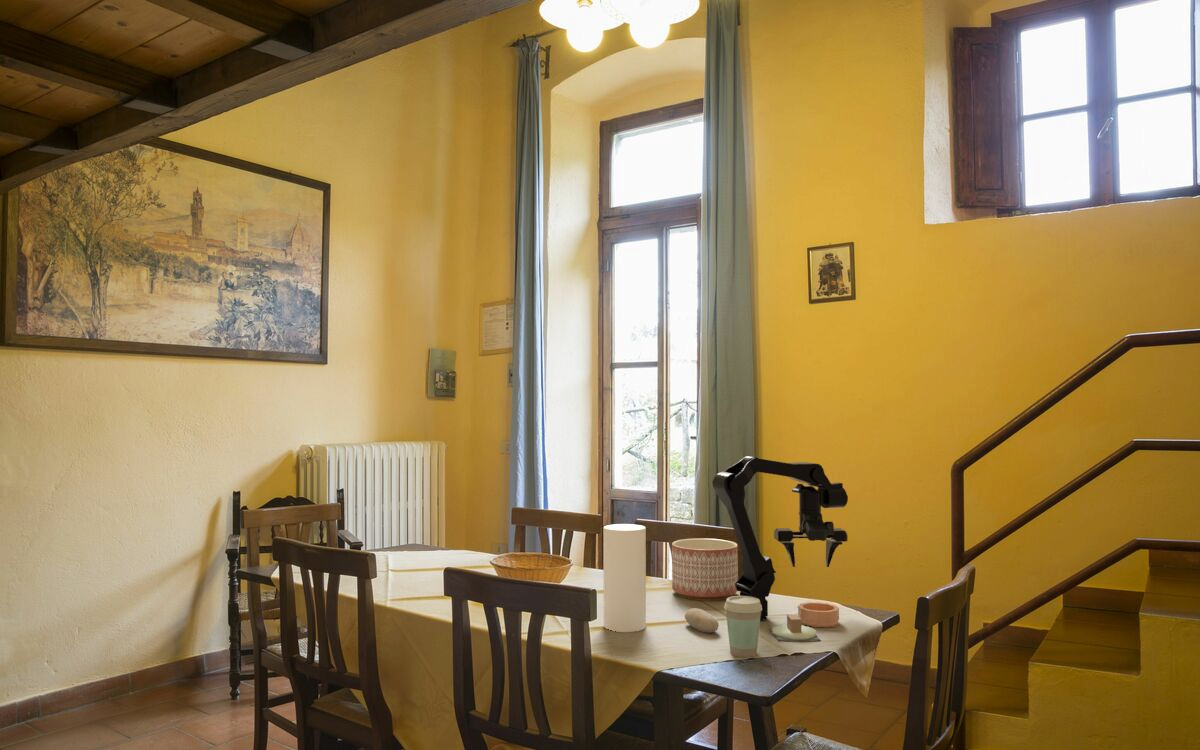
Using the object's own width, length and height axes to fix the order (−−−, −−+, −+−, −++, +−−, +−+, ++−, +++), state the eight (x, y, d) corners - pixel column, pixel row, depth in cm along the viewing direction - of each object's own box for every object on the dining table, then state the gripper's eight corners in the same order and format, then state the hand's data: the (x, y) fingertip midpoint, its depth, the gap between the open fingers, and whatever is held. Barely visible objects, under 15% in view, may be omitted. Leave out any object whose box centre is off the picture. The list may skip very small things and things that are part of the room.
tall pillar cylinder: (648, 631, 201) (648, 530, 201) (605, 632, 200) (605, 530, 201) (643, 620, 211) (642, 523, 212) (602, 621, 211) (602, 524, 211)
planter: (678, 585, 252) (678, 537, 252) (741, 589, 246) (740, 539, 247) (666, 599, 233) (666, 547, 234) (733, 604, 228) (733, 551, 228)
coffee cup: (754, 646, 189) (754, 594, 189) (768, 658, 180) (768, 603, 181) (719, 648, 187) (719, 596, 188) (731, 660, 179) (731, 605, 179)
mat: (778, 641, 193) (778, 639, 193) (769, 629, 203) (769, 627, 203) (820, 641, 193) (820, 639, 193) (809, 629, 203) (809, 627, 203)
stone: (697, 611, 210) (726, 607, 201) (694, 636, 208) (724, 634, 198) (679, 606, 208) (708, 602, 198) (676, 632, 205) (706, 629, 196)
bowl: (804, 627, 204) (804, 611, 204) (794, 617, 214) (794, 602, 214) (843, 627, 204) (843, 611, 204) (832, 617, 214) (831, 602, 214)
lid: (777, 639, 193) (777, 622, 193) (768, 627, 203) (768, 611, 203) (821, 639, 193) (821, 622, 193) (809, 627, 203) (809, 611, 203)
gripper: (782, 513, 213) (783, 573, 212) (853, 513, 213) (854, 573, 212) (773, 507, 224) (773, 564, 223) (840, 507, 224) (841, 564, 224)
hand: (810, 566), depth 220 cm, fingers open, 9 cm apart
